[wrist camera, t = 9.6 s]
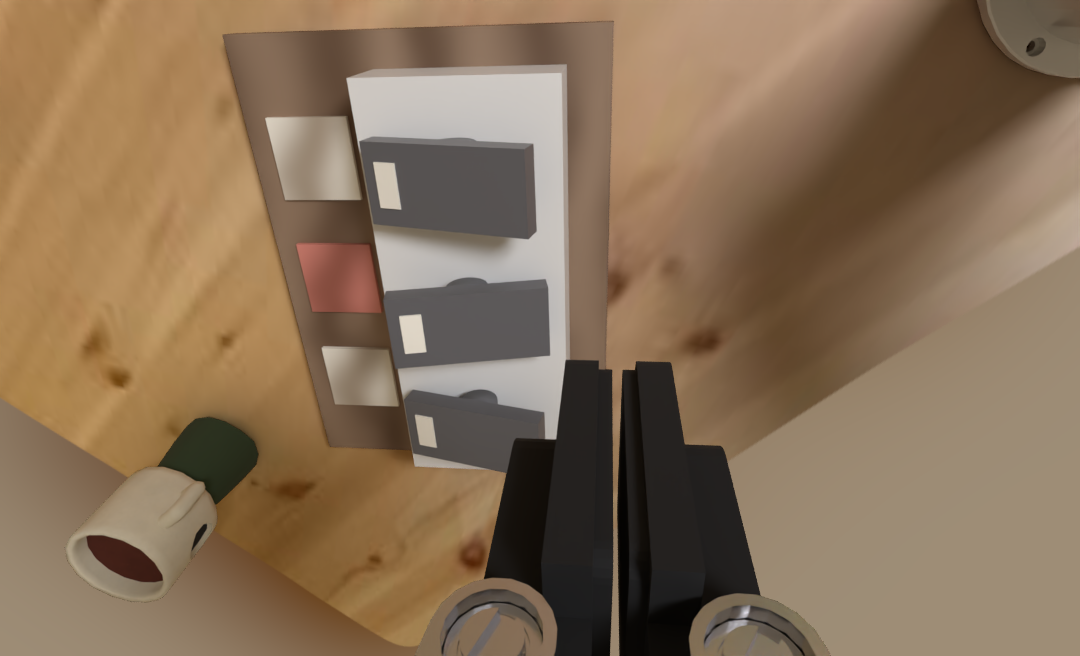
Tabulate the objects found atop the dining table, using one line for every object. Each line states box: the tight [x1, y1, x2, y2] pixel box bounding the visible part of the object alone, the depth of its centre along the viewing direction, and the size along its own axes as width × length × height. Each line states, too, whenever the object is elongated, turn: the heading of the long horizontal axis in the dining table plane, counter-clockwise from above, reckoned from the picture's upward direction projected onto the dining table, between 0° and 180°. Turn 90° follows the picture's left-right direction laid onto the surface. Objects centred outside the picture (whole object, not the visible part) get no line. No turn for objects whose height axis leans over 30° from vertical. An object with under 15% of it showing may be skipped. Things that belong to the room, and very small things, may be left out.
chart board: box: [223, 21, 614, 450], centre depth 41 cm, size 22×30×2 cm
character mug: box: [65, 417, 258, 602], centre depth 46 cm, size 11×7×13 cm, turn 130°
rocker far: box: [404, 389, 545, 473], centre depth 39 cm, size 9×4×3 cm, turn 91°
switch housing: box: [346, 64, 570, 470], centre depth 38 cm, size 11×26×4 cm, turn 2°
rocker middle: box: [383, 277, 550, 369], centre depth 35 cm, size 9×4×3 cm, turn 92°
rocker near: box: [359, 136, 537, 239], centre depth 31 cm, size 9×4×3 cm, turn 92°
